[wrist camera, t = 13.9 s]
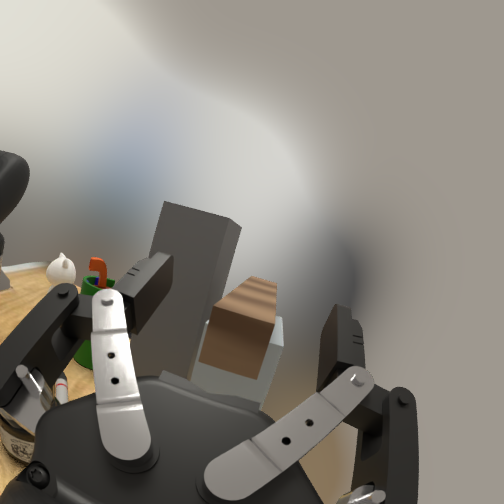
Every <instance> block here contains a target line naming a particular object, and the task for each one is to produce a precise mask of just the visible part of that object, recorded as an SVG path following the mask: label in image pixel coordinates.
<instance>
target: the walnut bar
mask: <svg viewBox="0 0 504 504" xmlns="http://www.w3.org/2000/svg"><path fill="white" fill-rule="evenodd" d="M276 292H277V283H274V282H270V281H267V280H264V279H260V278H257V277H253V276H251V277H250V278H248V279H247V280H246V281H244V282H243V283H242V284H241V285H239V286H238V287H237V288H235V289H234V290H233V291H232V292H231V293H229V294H228V295H226V296H225V297H224V298H222V299H221V300H220V301H218V302H217V303H216V304H214V305H213V308H212V312H211V315H210V319H209V323H208V326H207V330H206V334H205V338H204V341H203V345H202V349H201V353H200V357H199V360H198V362H201V363H204V364H207V365H210V366H213V367H216V368H219V369H222V370H225V371H228V372H231V373H234V374H238V375H241V376H244V377H248V378H251V379H255V380H257V378H258V375H259V372H260V369H261V366H262V363H263V360H264V357H265V354H266V351H267V348H268V345H269V342H270V339H271V336H272V332H273V329H274V326H275V316H276Z"/></svg>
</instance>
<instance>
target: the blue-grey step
mask: <svg viewBox="0 0 504 504" xmlns="http://www.w3.org/2000/svg"><path fill="white" fill-rule="evenodd" d="M208 323H209V320H208V321H207V322H206V323H205V326H204V330H203V334H202V337H201V341H200V345H199V349H198V353H197V357H196V360H195V364H194V368H193V372H192V376H191V380H190V382H192V383H193V384H195V385H196V386H198V387H199V388H201V389H203V390H204V391H206V392H208V393H212V394H222V395H233V396H238V397H242V398H245V399H249V400H252V401H256V402H259V403H260V407H259V410H260V411H261V409H262V406H263V403H264V401H265V398H266V395H267V393H268V390H269V387H270V384H271V382H272V379H273V376H274V373H275V370H276V368H277V365H278V362H279V359H280V356H281V353H282V350H283V347H284V343H283V325H282V317H278V316H275V326H274V329H273V332H272V336H271V339H270V342H269V345H268V348H267V351H266V354H265V357H264V360H263V363H262V366H261V369H260V372H259V375H258V378H257V380H255V379H251V378H248V377H244V376H241V375H238V374H234V373H231V372H228V371H225V370H222V369H219V368H216V367H213V366H210V365H207V364H204V363H201V362H198V360H199V357H200V353H201V349H202V345H203V341H204V338H205V334H206V330H207V326H208Z"/></svg>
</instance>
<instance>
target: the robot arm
mask: <svg viewBox="0 0 504 504" xmlns="http://www.w3.org/2000/svg"><path fill="white" fill-rule="evenodd" d="M29 172H30V170H29V166H28V164H27V162H26V160H24V159H23V158H22V157H20V156H18V155H16V154H14V153H9V152H5V151H0V224H1V223H2V221H3V220H4V219H5V218H6V217H7V216H8V215H9V214H10V213H11V212H12V211H13V209H14V208H15V207H16V206H17V204H18V203H19V201H20V200H21V198H22V196H23V195H24V192H25V190H26V188H27V185H28V181H29V176H30V173H29ZM3 249H4V237H3V235H2V234H1V233H0V272H1V263H2V256H3ZM173 266H174V257H173V255H170V254H167V253H164V252H161V251H158V252H157V253H156V254H155V255H154V256H153V257H152V258H151V259H150V258H145V259H143V260H141V261H138V262H137V263H136V264H135V265H134V266H133V267H132V269H130V270H129V271H128V272H127V273H126V274H125V275H124V276H123V277H122V278H121V279H120V280H119V281H118V282H117V283H116V284H115V285H114V286H113V287H112V288H111V289H103V290H100V291H98V292H97V293H96V294H95V295H94V296H90V295H83V294H78V291H77V288H76V286H75V285H73V284H71V283H61V284H58V285H56V286H55V287H54V288H53V289H52V290H51V291H50V292H49V293H48V294H47V295H46V296H45V297H44V298H43V299H42V300H41V301H40V302H39V303H38V304H37V305H36V306H35V307H34V308H33V309H32V310H31V311H30V312H29V313H28V314H27V316H26V317H25V318H24V319H23V320H22V321H21V322H20V323H19V324H18V325H17V327H16V328H15V329H14V330H13V331H12V332H11V333H10V335H9V336H8V337H7V338H6V339H5V340H4V342H3V343H2V344H1V345H0V414H1V415H2V416H3V417H4V418H5V419H6V420H7V421H8V422H9V423H10V424H11V425H12V426H13V427H15V428H24V429H25V430H26V431H28V432H29V433H30V434H32V435H33V436H35V442H34V449H33V454H32V457H31V460H30V462H29V464H28V466H27V467H26V468H25V469H24V470H23V471H22V472H21V473H20V474H18V475H17V476H16V477H15V478H14V479H12V480H11V481H10V482H9V483H8V484H7V486H6V488H5V489H4V491H3V493H2V495H1V496H0V504H324V503H323V502H322V500H321V499H320V497H319V496H318V493H317V492H316V490H315V488H314V487H313V485H312V483H311V482H310V480H309V478H308V477H307V475H306V473H305V471H304V470H303V468H302V466H301V464H300V463H299V461H298V460H300V459H301V458H302V457H303V456H304V455H306V454H307V453H308V452H309V451H310V450H311V449H313V448H314V447H315V446H316V445H317V444H318V443H319V442H320V441H321V440H323V439H324V438H325V437H326V436H327V435H328V434H329V433H330V432H331V431H332V430H334V429H335V427H337V426H338V425H339V424H340V423H341V422H342V421H343V422H345V423H347V424H349V425H351V426H353V427H355V428H357V429H358V436H357V447H356V456H355V464H354V472H353V479H352V485H351V491H350V492H348V493H346V494H344V495H342V496H341V497H340V498H339V499H338V501H337V503H336V504H417V500H418V477H419V474H418V473H419V450H418V449H419V448H418V425H417V410H416V400H415V397H414V395H413V394H412V393H411V392H410V391H409V390H407V389H406V388H403V387H396V388H394V389H392V390H391V391H390V392H389V391H387V390H385V389H383V388H381V387H379V386H377V385H376V384H374V379H373V377H372V375H371V374H370V372H368V371H367V370H366V369H365V354H364V345H363V344H364V342H363V332H362V327H361V326H360V324H359V322H358V321H357V320H354V319H352V316H351V308H350V307H346V306H343V305H339V304H335V305H334V307H333V309H332V311H331V313H330V315H329V317H328V319H327V321H326V323H325V325H324V327H323V330H322V334H321V339H320V354H319V367H318V378H317V389H316V393H314V394H313V395H312V396H310V397H309V398H308V399H307V400H305V401H304V402H303V403H301V404H300V405H299V406H297V408H295V409H293V410H292V411H291V412H289V413H288V414H287V415H285V416H284V417H283V418H281V419H280V420H278V421H277V422H275V421H274V420H273V419H272V418H271V417H270V416H268V415H267V414H265V413H264V412H262V411H260V410H259V407H260V403H259V402H256V401H252V400H249V399H245V398H242V397H238V396H233V395H222V394H212V393H208V392H206V391H204V390H203V389H201V388H199V387H198V386H196V385H195V384H193V383H192V382H190V381H188V380H187V379H185V378H182V377H180V376H177V375H174V374H172V373H169V372H167V371H164V370H163V371H162V373H161V375H160V376H153V375H146V376H139V377H135V372H134V367H133V362H132V357H131V351H130V345H129V340H128V334H129V333H130V332H131V333H133V334H135V335H138V334H139V332H140V331H141V330H142V328H143V327H144V325H145V324H146V323H147V321H148V320H149V319H150V317H151V316H152V314H153V313H154V312H155V310H156V309H157V308H158V306H159V305H160V304H161V302H162V301H163V299H164V298H165V297H166V295H167V294H168V293H169V291H170V289H171V286H172V282H173ZM85 340H89V341H91V348H92V362H93V373H94V383H95V391H96V392H95V393H92V394H89V395H87V396H84V397H81V398H78V399H75V400H72V401H69V402H66V403H63V404H60V405H57V406H55V407H52V408H50V407H51V402H52V399H53V394H52V391H51V388H52V387H53V385H54V384H55V382H56V381H57V379H58V378H59V376H60V375H61V373H62V372H63V371H64V369H65V368H66V366H67V365H68V363H69V362H70V360H71V359H72V358H73V356H74V355H75V353H76V352H77V351H78V349H79V348H80V346H81V345H82V344H83V342H84V341H85Z"/></svg>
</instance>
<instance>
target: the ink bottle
mask: <svg viewBox="0 0 504 504" xmlns="http://www.w3.org/2000/svg"><path fill="white" fill-rule="evenodd" d="M51 391H52V394H53V399H52V402H51V407H50V408H52V407H55V406H57V405H60V404H61V403H60V402H59V400H58V399H57V398H56V397H55V384H54V385H53V387H52V388H51ZM0 436H1V439H2V442H3V445H4V447H5V449H6V451H7V452H8V453H9V454H10V455H11V456H12V457H13V458H14V459H16V460H17V461H19V462H20V463H22V464H25V465H27V466H28V464H29V462H30V460H31V457H32V454H33V449H34V442H35V436H33V435H32V434H30V433H29V432H28V431H26V430H25V429H24V428H15V427H13V426H12V425H11V424H10V423H9V422H8V421H7V420H6V419H5V418H4V417H3V416H2V415H1V414H0Z"/></svg>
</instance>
